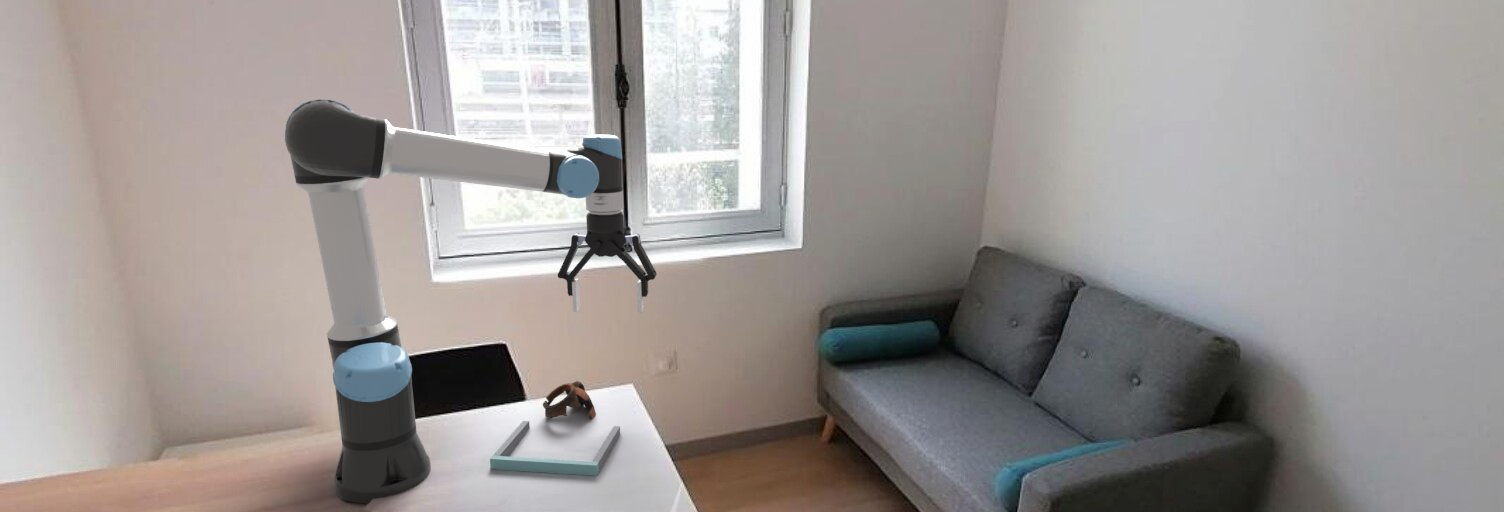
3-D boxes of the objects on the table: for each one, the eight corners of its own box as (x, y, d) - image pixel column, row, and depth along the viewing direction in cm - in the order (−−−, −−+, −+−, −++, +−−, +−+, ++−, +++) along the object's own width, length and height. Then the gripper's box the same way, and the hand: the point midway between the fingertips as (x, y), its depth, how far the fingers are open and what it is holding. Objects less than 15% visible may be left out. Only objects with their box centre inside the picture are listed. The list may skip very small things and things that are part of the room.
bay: (490, 469, 139) (489, 458, 139) (523, 430, 154) (523, 420, 154) (597, 475, 137) (596, 465, 137) (620, 435, 152) (619, 426, 152)
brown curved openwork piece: (596, 429, 155) (574, 399, 152) (555, 447, 157) (532, 417, 153) (604, 393, 166) (584, 364, 162) (566, 410, 167) (545, 381, 164)
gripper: (538, 214, 156) (544, 315, 162) (663, 215, 156) (665, 317, 161) (549, 207, 164) (554, 304, 169) (668, 208, 163) (670, 306, 168)
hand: (608, 310), depth 165 cm, fingers open, 13 cm apart
